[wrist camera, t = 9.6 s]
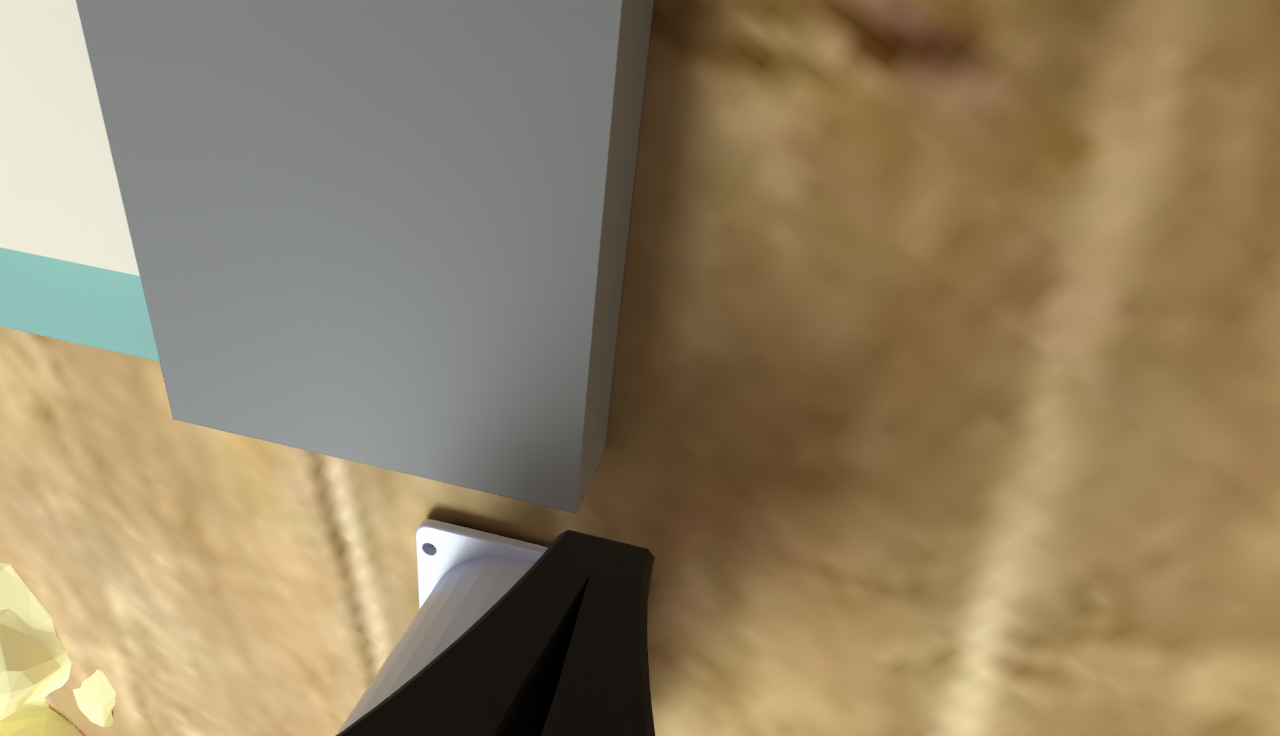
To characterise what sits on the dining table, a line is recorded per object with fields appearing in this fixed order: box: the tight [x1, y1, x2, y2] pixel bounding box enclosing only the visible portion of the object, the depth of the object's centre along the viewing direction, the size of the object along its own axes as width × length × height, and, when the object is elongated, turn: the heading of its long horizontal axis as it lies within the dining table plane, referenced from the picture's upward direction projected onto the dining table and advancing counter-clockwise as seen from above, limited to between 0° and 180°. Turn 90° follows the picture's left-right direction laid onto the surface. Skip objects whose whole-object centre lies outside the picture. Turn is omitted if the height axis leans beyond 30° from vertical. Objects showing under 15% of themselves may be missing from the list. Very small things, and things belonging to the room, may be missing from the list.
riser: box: [76, 0, 654, 513], centre depth 17 cm, size 16×12×3 cm
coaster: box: [0, 0, 140, 276], centre depth 18 cm, size 8×8×2 cm
